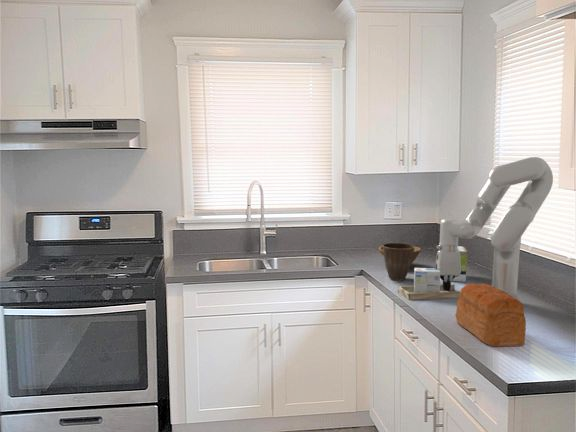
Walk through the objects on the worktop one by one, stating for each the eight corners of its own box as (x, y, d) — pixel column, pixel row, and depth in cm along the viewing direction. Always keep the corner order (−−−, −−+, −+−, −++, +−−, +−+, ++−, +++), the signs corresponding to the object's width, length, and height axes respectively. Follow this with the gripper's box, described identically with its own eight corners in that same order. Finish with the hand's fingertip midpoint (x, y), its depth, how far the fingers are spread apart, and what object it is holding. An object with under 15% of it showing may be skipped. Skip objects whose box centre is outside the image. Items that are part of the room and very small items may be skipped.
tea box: (466, 282, 253) (468, 251, 251) (444, 280, 255) (445, 250, 253) (462, 275, 268) (464, 245, 266) (441, 273, 270) (443, 244, 268)
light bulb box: (438, 292, 232) (439, 268, 231) (439, 296, 226) (441, 271, 225) (413, 291, 234) (413, 267, 233) (413, 295, 228) (414, 270, 226)
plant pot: (418, 281, 253) (419, 248, 251) (388, 282, 250) (389, 249, 248) (405, 274, 267) (406, 242, 266) (377, 275, 264) (377, 243, 263)
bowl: (368, 265, 288) (369, 247, 287) (397, 260, 302) (398, 243, 300) (400, 273, 271) (400, 253, 269) (429, 267, 284) (430, 248, 283)
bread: (487, 348, 168) (490, 300, 167) (452, 321, 195) (454, 280, 193) (529, 346, 170) (532, 299, 168) (489, 320, 196) (491, 279, 195)
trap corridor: (467, 297, 226) (467, 291, 226) (408, 299, 222) (409, 293, 222) (453, 289, 238) (454, 284, 238) (397, 292, 234) (398, 286, 234)
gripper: (435, 250, 224) (433, 293, 226) (469, 249, 226) (466, 292, 229) (428, 246, 231) (426, 288, 234) (460, 246, 234) (458, 287, 236)
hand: (446, 290), depth 231 cm, fingers closed
